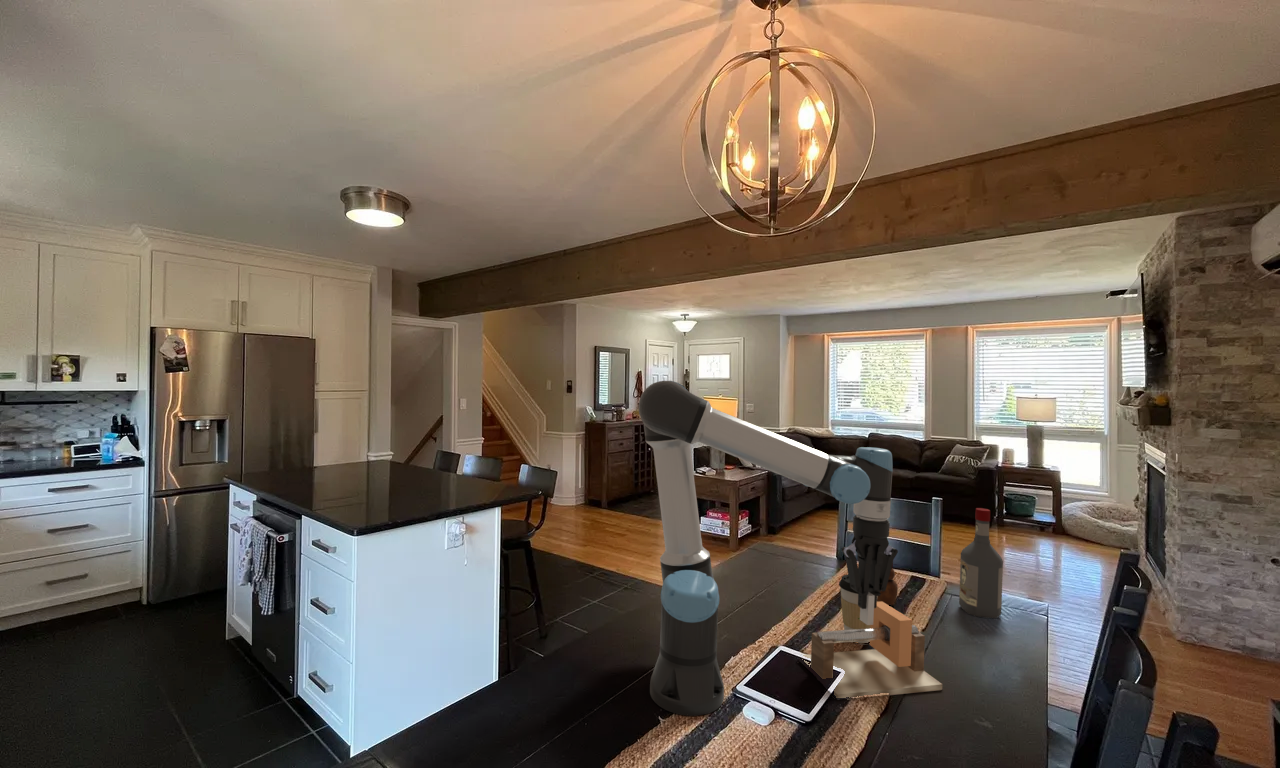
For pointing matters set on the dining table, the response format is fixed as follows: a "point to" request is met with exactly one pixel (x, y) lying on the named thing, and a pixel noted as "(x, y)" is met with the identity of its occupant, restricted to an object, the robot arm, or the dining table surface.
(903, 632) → the orange square ring
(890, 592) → the wooden figurine
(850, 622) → the coffee cup
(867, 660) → the wooden rod stand
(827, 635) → the pipe
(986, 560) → the liquor
